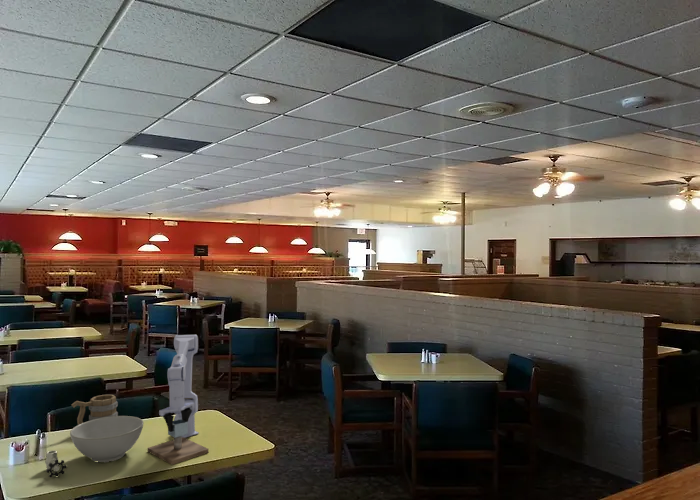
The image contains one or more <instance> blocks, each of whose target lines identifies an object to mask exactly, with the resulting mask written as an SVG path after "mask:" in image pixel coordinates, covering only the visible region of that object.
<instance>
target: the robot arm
mask: <svg viewBox="0 0 700 500" xmlns="http://www.w3.org/2000/svg"><path fill="white" fill-rule="evenodd" d="M173 346H174V347H173V348H174V350H175V352H176V354H175V355H174V356H173V358H172V362H171V366H170V367H169V368H167V373H166V374H167V382H168V383H167V384H168V386H169V392H168V393H169V406H168V407H166V408H163V409H159V411H158V414H159V416H161V417H163V419H164V421H165V423H166V426H167V427H166V428H167V432H168V431H170V432H172V431H173V421H174V420H178V419H182V420H185V421H187V423H188V434H186V435H183V436H182V437H184V438H186V439H187V438H188V437H192V436H195V435H198V434H200V433H199V432H198V431H196V426H195V425H196V424H195V422H196V419H195V417H196V415H195V414H196V413H197V412H199V411H198V409H199V400H198V395H197V394H196V393H195V392H193V390H192V383H193V380H192V379H193V359H194V355H195V354H197V353H198V349H199V337H198V335H197V334H175V336H174V338H173ZM173 413H174V414H175V416H174V415H173Z"/></svg>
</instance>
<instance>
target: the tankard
mask: <svg viewBox="0 0 700 500" xmlns="http://www.w3.org/2000/svg"><path fill="white" fill-rule="evenodd" d="M118 405H119V402H118V401H117V396H115V395H114V394H102V395H100V394H99V395H96V396H93V397H92V398H90V400H89V401H88V402H87V401H86V402H84V401H81V400H80V401H79V400H76V401H74V402H73V403H72V404H71V406H72V408H76V407H77V406H78V407H79V412H78V415H77V418H76V421H77V425H79V424H82V423H84V417H85V414H86V407H88V410H89V411H90V414H89V415H88V421H91V420H95V419H99V418H105V417H113V416H119V412H118V411H117V407H118Z"/></svg>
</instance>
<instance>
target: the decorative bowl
mask: <svg viewBox="0 0 700 500" xmlns="http://www.w3.org/2000/svg"><path fill="white" fill-rule="evenodd" d="M143 427H144V420H143V419H141V418H139V417H137V416H130V415H129V416H128V415H118V416H113V417H105V418H99V419H95V420H91V421H90V420H88V421H85V422H84V421H83V423H82V424H79V425H78V424H77V425H76V426H74V427H73V428H72V429H71V430H70V432H69V436H70V438H71V441H72V443H73V445H74V446H75V448H76V449H77V451H78V452H80V453H81V454H82V455H83V456H85V457H87V458H89V459H90V460H91V459H92V460H93V461H98V462H104V463H110V462H109V461H111V462H114V461H117V460H119V459H122V458H123V457H124V456H125V455H126V453H127V452H128V451H129V450H130V449H132V448H133V447H134V445H135V444H136V443H137V441H138V440H139V438H140V436H141V433H142V430H143ZM92 460H91V461H92ZM93 461H92V462H93ZM98 462H97V463H98Z"/></svg>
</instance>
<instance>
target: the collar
mask: <svg viewBox="0 0 700 500" xmlns="http://www.w3.org/2000/svg"><path fill="white" fill-rule="evenodd" d="M186 434H188V423H187V421H185V420H182V419H178V420H174V419H173V431H172V432H170V431H168V430H167V435H168V436H171V437H172V438H173V439H174V438H176V437H179V436H183V435H186Z"/></svg>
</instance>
